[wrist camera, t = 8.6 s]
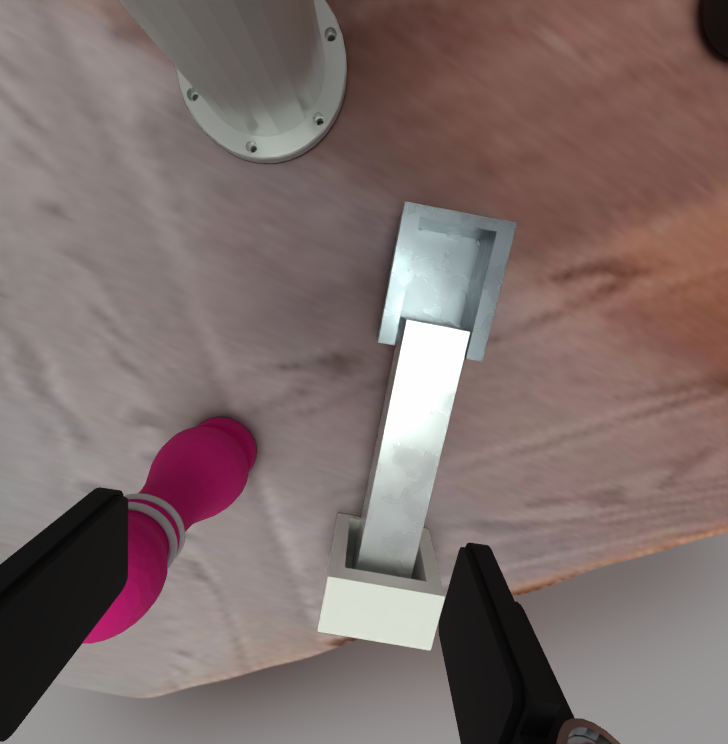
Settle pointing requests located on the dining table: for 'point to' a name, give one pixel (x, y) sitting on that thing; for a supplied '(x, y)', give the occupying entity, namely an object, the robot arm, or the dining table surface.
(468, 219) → the sleeve
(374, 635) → the socket block
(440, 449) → the grey rectangular bar
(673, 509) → the dining table surface
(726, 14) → the cola bottle
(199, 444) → the pepper mill
